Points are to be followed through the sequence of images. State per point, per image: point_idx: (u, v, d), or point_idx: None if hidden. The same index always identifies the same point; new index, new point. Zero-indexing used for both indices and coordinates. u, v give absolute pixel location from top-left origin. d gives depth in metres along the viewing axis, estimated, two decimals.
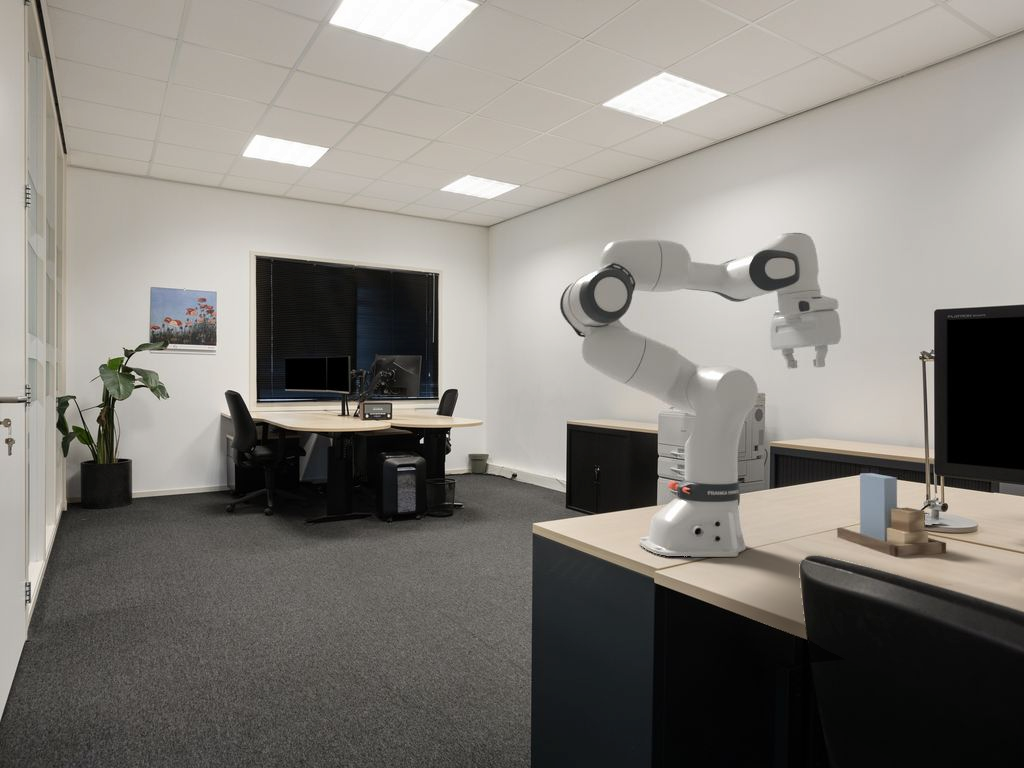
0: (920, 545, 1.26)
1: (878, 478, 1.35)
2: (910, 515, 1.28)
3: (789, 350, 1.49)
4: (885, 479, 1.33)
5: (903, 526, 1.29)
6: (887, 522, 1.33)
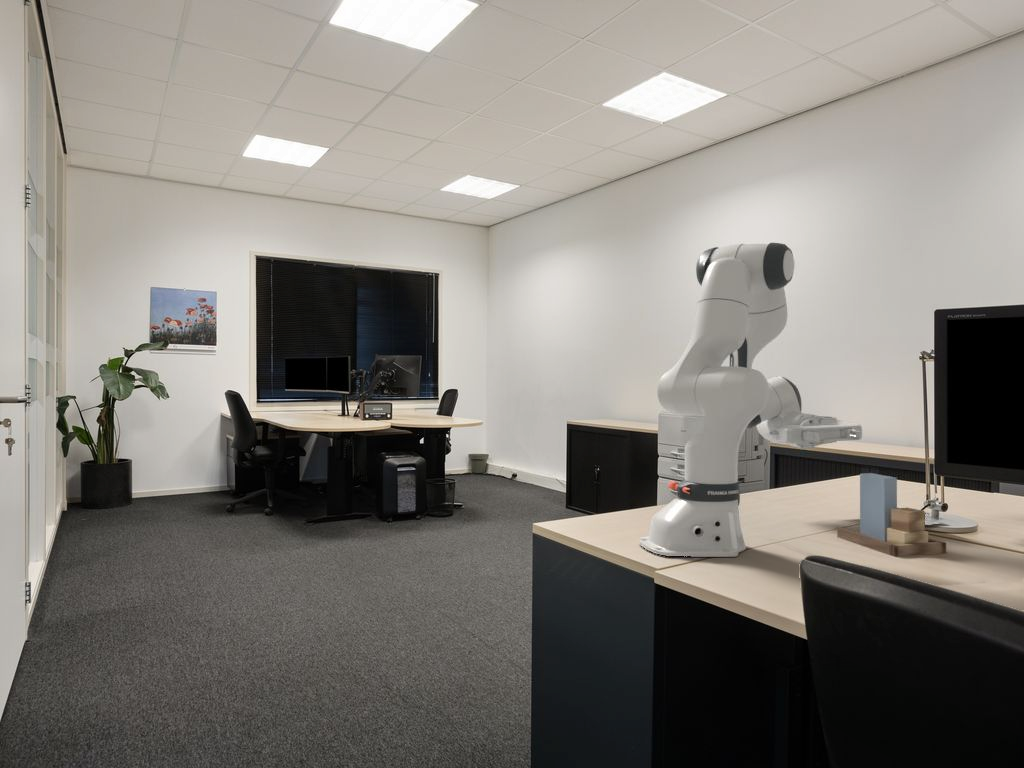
0: (920, 545, 1.26)
1: (878, 478, 1.35)
2: (910, 515, 1.28)
3: None
4: (885, 479, 1.33)
5: (903, 526, 1.29)
6: (887, 522, 1.33)
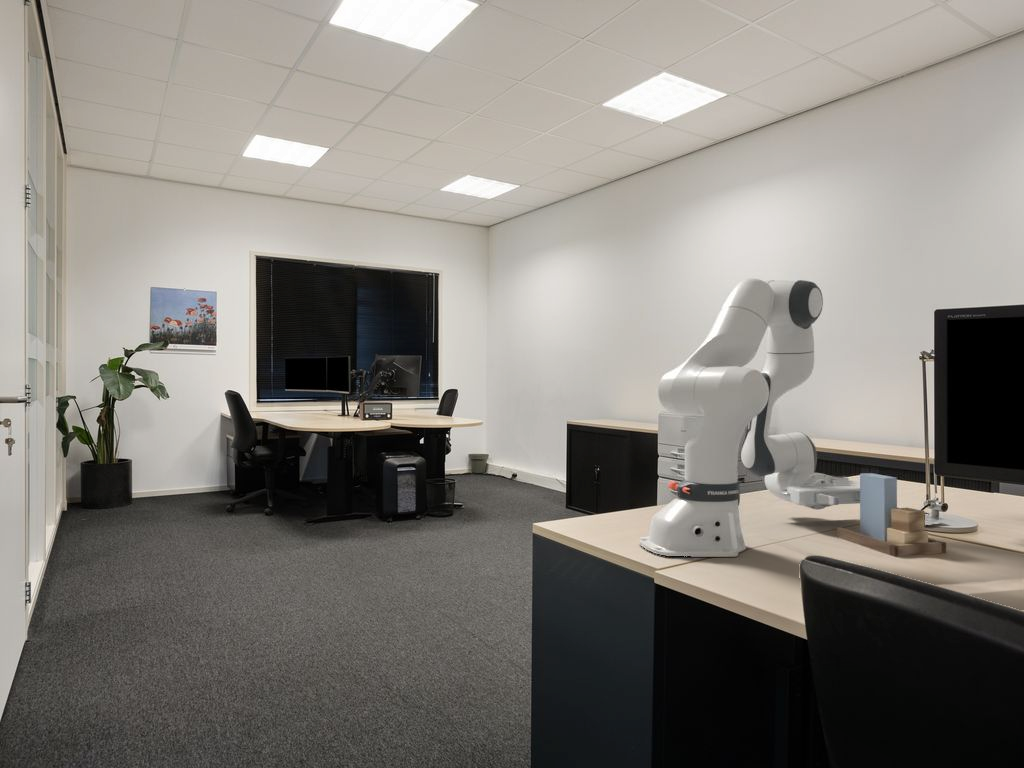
0: (920, 545, 1.26)
1: (878, 478, 1.35)
2: (910, 515, 1.28)
3: None
4: (885, 479, 1.33)
5: (903, 526, 1.29)
6: (887, 522, 1.33)
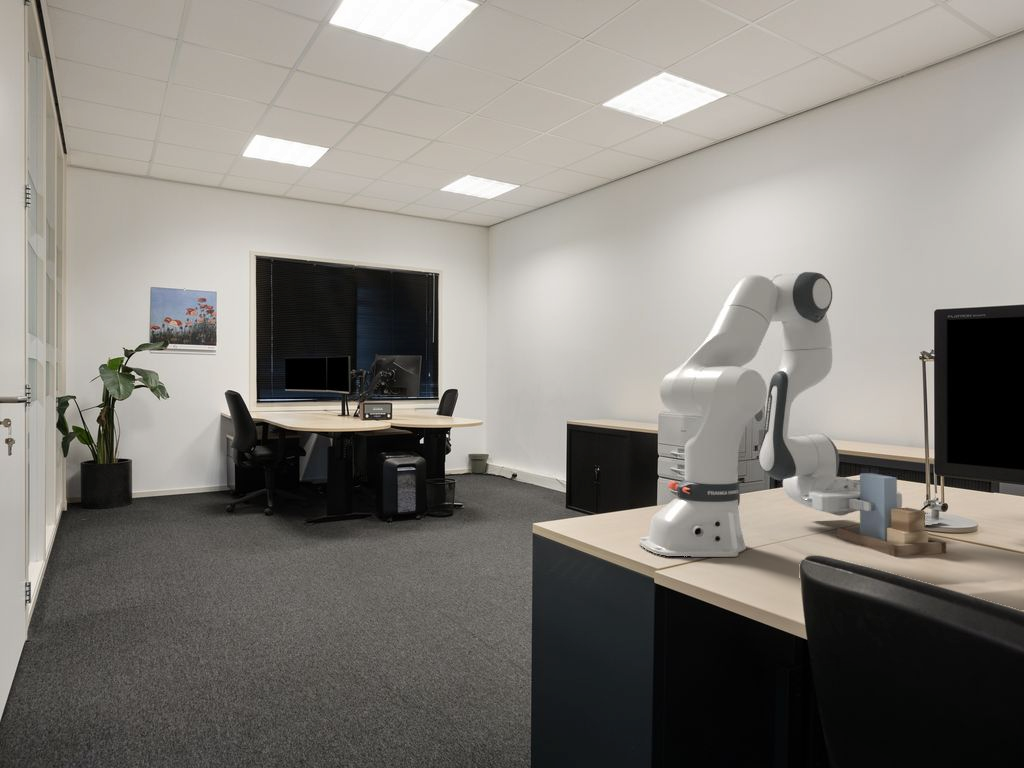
0: (920, 545, 1.26)
1: (878, 478, 1.35)
2: (910, 515, 1.28)
3: None
4: (885, 479, 1.33)
5: (903, 526, 1.29)
6: (887, 522, 1.33)
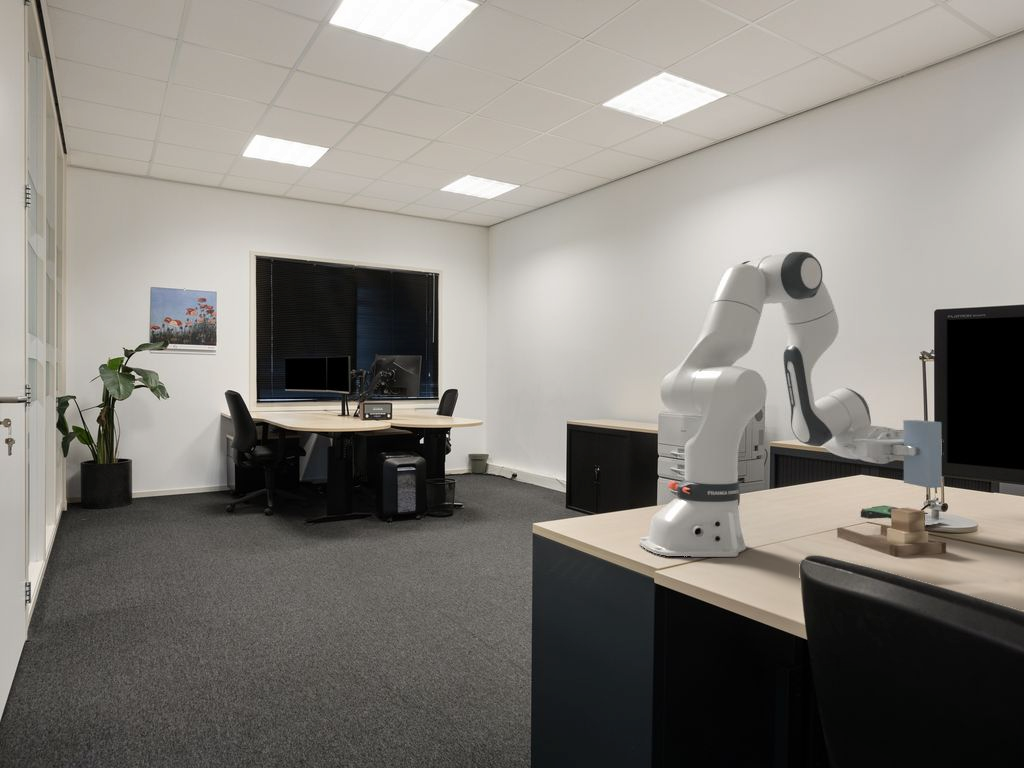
0: (920, 545, 1.26)
1: (923, 423, 1.38)
2: (910, 515, 1.28)
3: None
4: (930, 423, 1.37)
5: (903, 526, 1.29)
6: (932, 465, 1.37)
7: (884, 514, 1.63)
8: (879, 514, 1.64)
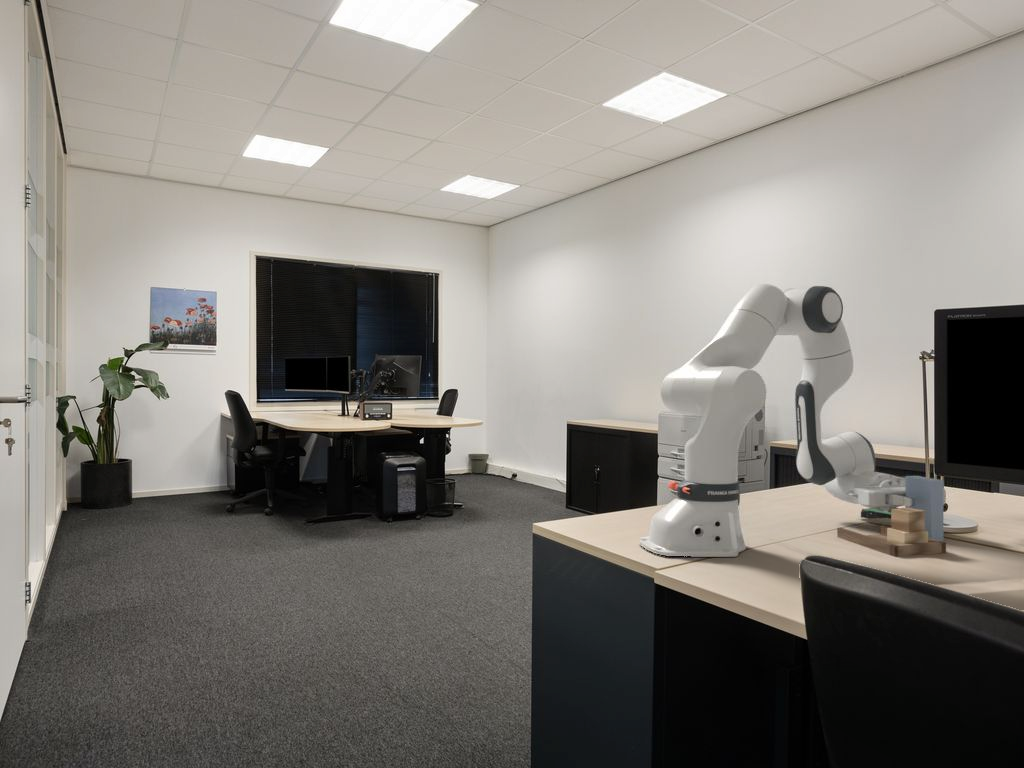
0: (920, 545, 1.26)
1: (925, 481, 1.38)
2: (910, 515, 1.28)
3: None
4: (932, 482, 1.37)
5: (903, 526, 1.29)
6: (934, 523, 1.37)
7: (885, 514, 1.63)
8: (880, 514, 1.64)
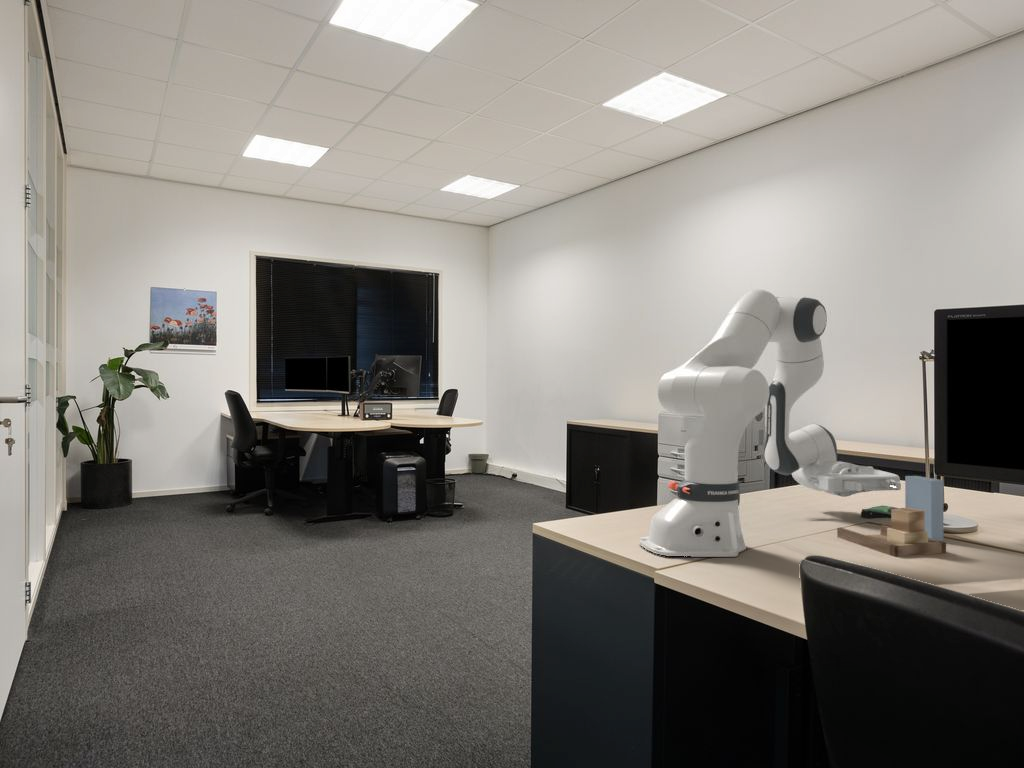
0: (920, 545, 1.26)
1: (925, 481, 1.38)
2: (910, 515, 1.28)
3: None
4: (932, 482, 1.37)
5: (903, 526, 1.29)
6: (934, 523, 1.37)
7: (885, 514, 1.63)
8: (880, 514, 1.64)
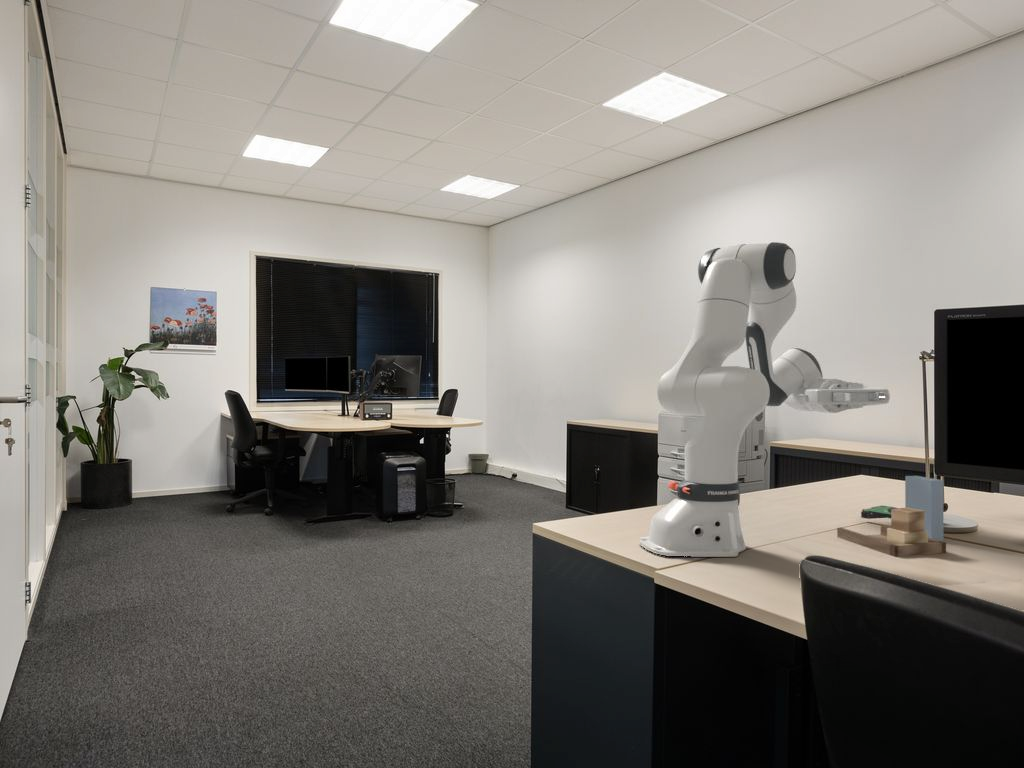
0: (920, 545, 1.26)
1: (925, 481, 1.38)
2: (910, 515, 1.28)
3: None
4: (932, 482, 1.37)
5: (903, 526, 1.29)
6: (934, 523, 1.37)
7: (886, 514, 1.62)
8: (880, 514, 1.64)
